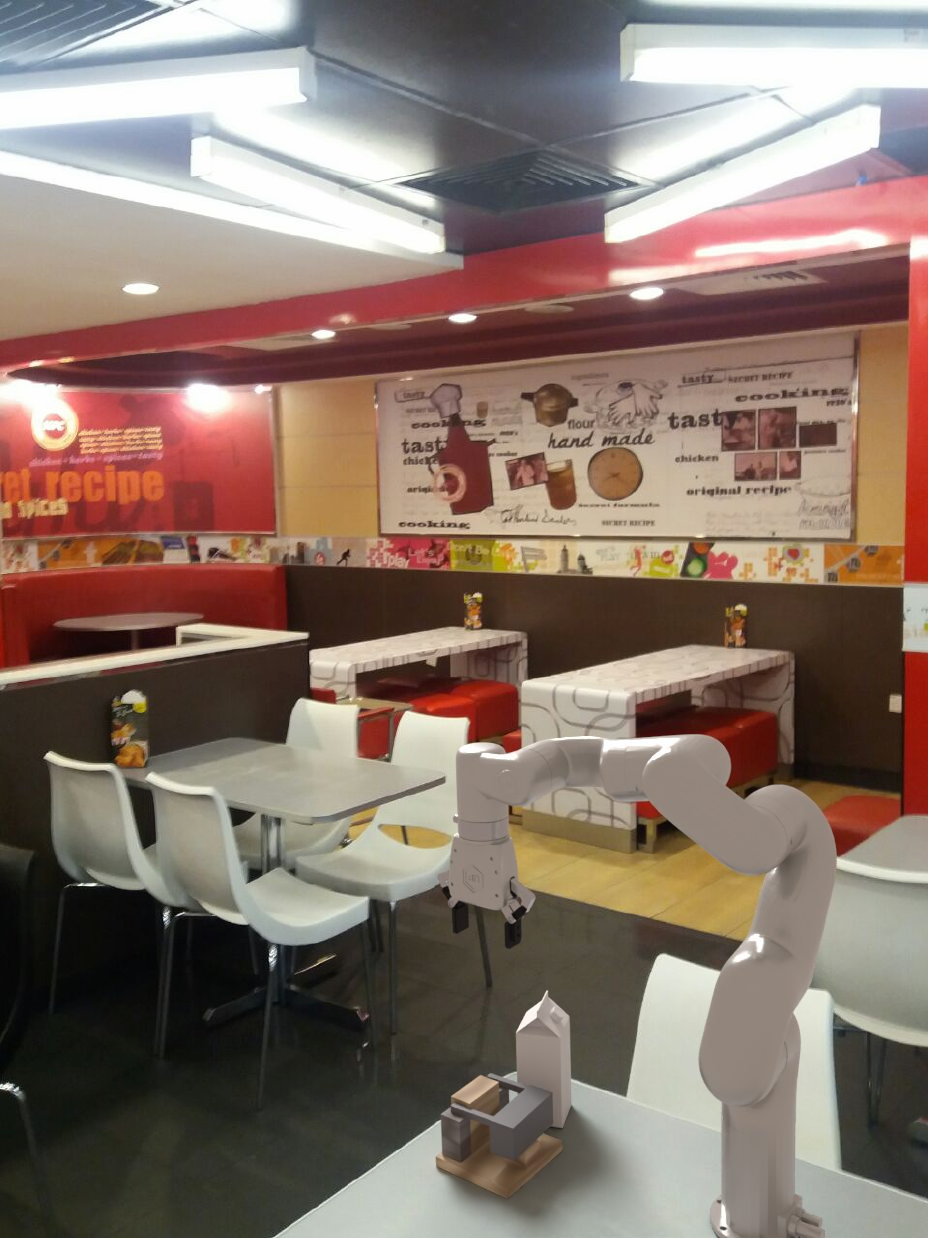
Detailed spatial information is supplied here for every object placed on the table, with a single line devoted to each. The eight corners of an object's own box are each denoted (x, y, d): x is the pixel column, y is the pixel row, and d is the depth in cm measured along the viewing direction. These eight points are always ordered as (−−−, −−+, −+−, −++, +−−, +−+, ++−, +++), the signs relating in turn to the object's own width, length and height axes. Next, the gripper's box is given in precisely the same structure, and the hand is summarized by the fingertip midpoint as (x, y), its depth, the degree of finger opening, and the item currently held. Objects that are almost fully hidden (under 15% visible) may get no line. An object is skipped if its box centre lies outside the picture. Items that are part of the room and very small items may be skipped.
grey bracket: (553, 1123, 169) (552, 1092, 168) (513, 1161, 160) (512, 1128, 159) (491, 1102, 175) (491, 1072, 174) (450, 1137, 166) (449, 1105, 165)
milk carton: (517, 1123, 176) (514, 1008, 174) (528, 1099, 183) (525, 988, 180) (562, 1129, 174) (560, 1013, 171) (571, 1104, 181) (569, 992, 178)
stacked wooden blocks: (562, 1150, 169) (561, 1090, 167) (507, 1199, 158) (505, 1136, 157) (492, 1121, 177) (491, 1064, 175) (436, 1166, 166) (433, 1105, 165)
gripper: (422, 824, 168) (426, 933, 171) (516, 844, 158) (519, 961, 160) (453, 811, 174) (456, 917, 177) (546, 830, 164) (548, 942, 166)
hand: (486, 938), depth 168 cm, fingers open, 9 cm apart
